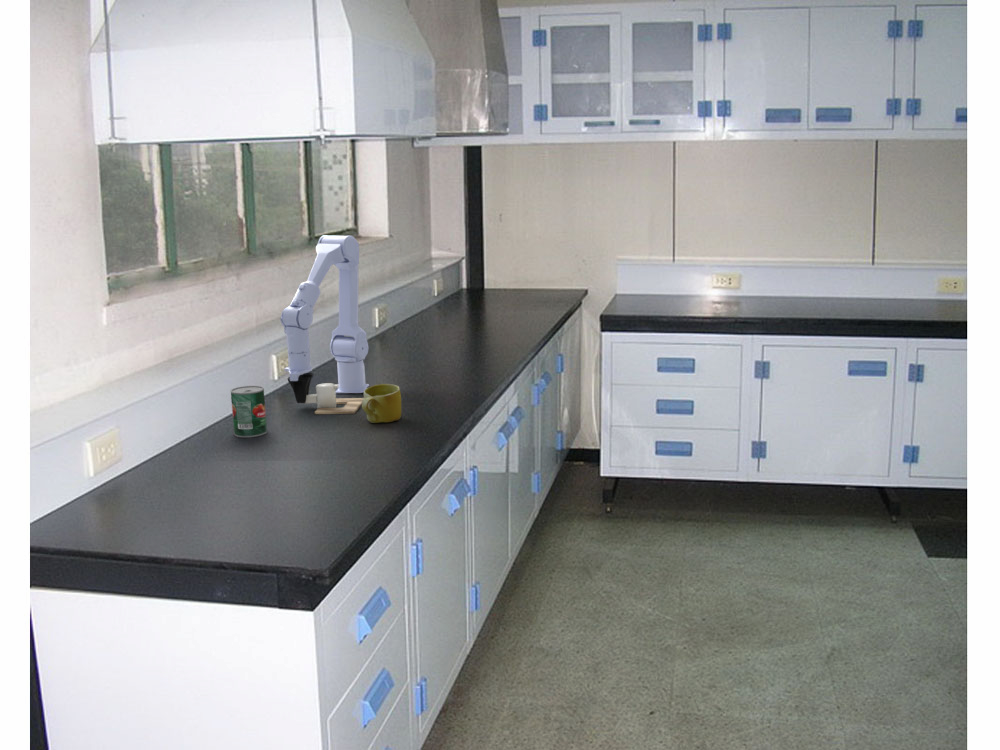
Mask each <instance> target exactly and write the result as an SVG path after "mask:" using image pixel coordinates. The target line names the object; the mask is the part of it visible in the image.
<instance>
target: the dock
mask: <svg viewBox="0 0 1000 750" xmlns="http://www.w3.org/2000/svg"><path fill="white" fill-rule="evenodd" d="M363 399H364V397H358V398H357V397H350V398H347V397H345V398H341V397H340V398H337V397H336V405H344V406H343V407H336V408H318V407H317V409H316V410H315V411H314V415H339V414H341V415H345V414H346V415H348V414H350V415H351V414H352V415H353V414H355V413H356V412H357V411H358V410H359V409H360V408H361V407H362V402H363Z"/></svg>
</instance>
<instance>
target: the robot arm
mask: <svg viewBox="0 0 1000 750" xmlns="http://www.w3.org/2000/svg"><path fill="white" fill-rule="evenodd" d="M315 251H316V254H317V255H316V257H315V260H314V262H313V265H312V268H311V269H310V272H309V275H308V277H307V280H306V281H303V282H301V283H300V285H299V286H298V288H297V291H295V292H296V293H295V295H293V299H292V300H291V303H290V304H289V306H287V307H285V308H284V309H283V310H282V312H281V315H280V318H279V320H280V323H281V325H282V327H283V331H284V334H285V335H286V345H287V356H288V357H287V361H288V366H287V367H284V372H288V373H289V376H288V377H287V382H288V384H289V385H290V386H291V388H292V391H293V394H294V397H295V400H296V402H297V404H306V403H305V402H306V395H310V394H309V392H310V387H311V382H312V380H313V377H314V373H313V372H312V370H313V369H312V368H313V367H312V364H311V351H310V349H311V348H310V346H311V345H310V334H309V327H311V325H312V323H313V319H314V317H313V316H314V307H315V306H316V303H317V302H318V299H319V297H320V295H321V294H322V293H321V292H322V291H321V289H320V285H321V284H322V282H323V280H324V278H325V277H326V276H327V274H328V272H329V270H330V269H331V267H332V266H333V265H335V267H336V268H337V269H338V326H337V327H336V328H335V329H333V330H332V332H331V340H330V343H329V352H330V354H331V355H332V357H334V361H336V363H337V364H336V366H337V381H338V382H337V384H339V387H338V388H337V389H335V391H336V394H362V393H363V394H364V390H365V389H367V388H368V387H370V384H369V383H366V373H365V372H366V370H365V362H364V360H365V359H366V357H367V355H368V353H369V349H370V348H369V342H368V337H367V332H366V331H365V330H364V329H363V328H362V327H360V325H359V265H360V243H359V242H358V241H357V239H356V238H355V237H354V236H353V235H328V234H324V235H321V236H320V237H319V239H318V242H317V244H316V246H315Z"/></svg>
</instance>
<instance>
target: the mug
mask: <svg viewBox="0 0 1000 750" xmlns="http://www.w3.org/2000/svg"><path fill="white" fill-rule="evenodd" d="M363 398H364V399H363V402H362V405H361V408H362V410H363V412H364V413H365V414H366V419H367V421H368V422H369V423H371V424H379V423H393V422H395V421H399V420H400V419H401V417H402V395H401V389H400V386H399V385H396V384H391V383H380V384H374V385H372V386H368V387H367V388H366V389H365V390H364V392H363Z"/></svg>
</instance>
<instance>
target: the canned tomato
mask: <svg viewBox="0 0 1000 750" xmlns="http://www.w3.org/2000/svg"><path fill="white" fill-rule="evenodd" d="M230 398H231V399H230V400H231V410H232V411H231V412H232V423H233V434H234V436H235V437H237V438H256V437H260V436H263V435H266V434H267V433H268V426H267V414H266V402H265V400H266V399H265V388H264V387H263V386H260V385H244V386H237V387H235V388H232V389H230Z"/></svg>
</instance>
